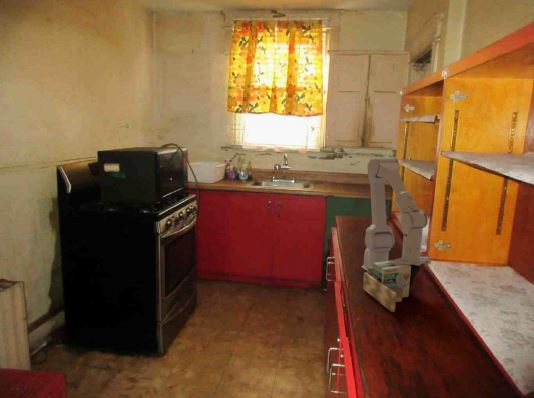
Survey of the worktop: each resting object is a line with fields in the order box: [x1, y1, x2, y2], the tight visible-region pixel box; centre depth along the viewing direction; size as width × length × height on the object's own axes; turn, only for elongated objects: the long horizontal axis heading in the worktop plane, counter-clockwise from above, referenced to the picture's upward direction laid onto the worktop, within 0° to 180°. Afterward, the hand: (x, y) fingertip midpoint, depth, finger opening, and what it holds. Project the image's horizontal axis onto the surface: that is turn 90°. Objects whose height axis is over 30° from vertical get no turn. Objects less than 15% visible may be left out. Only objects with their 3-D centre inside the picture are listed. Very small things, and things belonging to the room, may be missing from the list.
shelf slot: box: [362, 267, 403, 313], centre depth 122 cm, size 17×7×8 cm, turn 16°
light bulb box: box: [372, 260, 411, 298], centre depth 125 cm, size 11×7×11 cm, turn 108°
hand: (408, 285), depth 128 cm, fingers closed
